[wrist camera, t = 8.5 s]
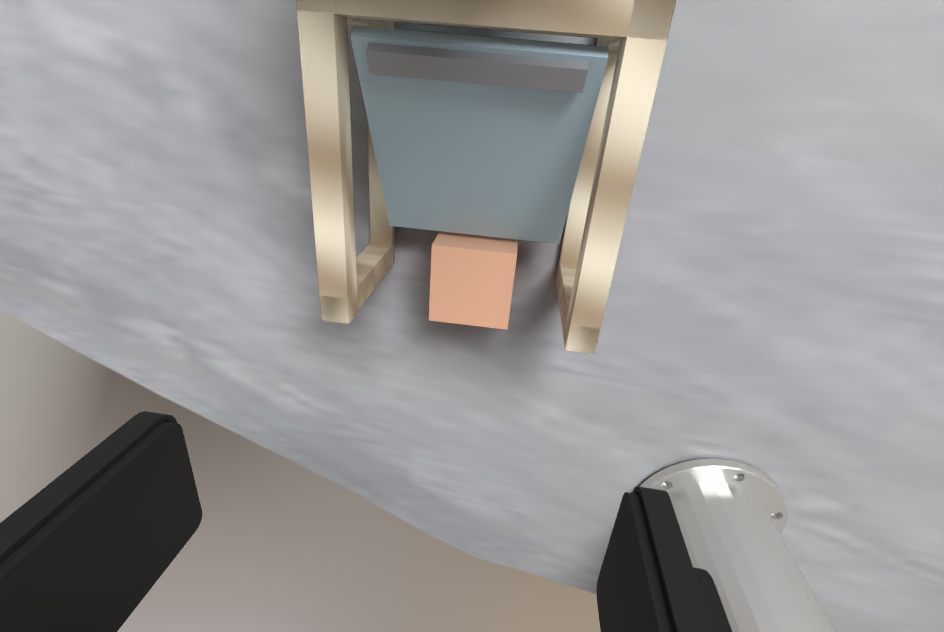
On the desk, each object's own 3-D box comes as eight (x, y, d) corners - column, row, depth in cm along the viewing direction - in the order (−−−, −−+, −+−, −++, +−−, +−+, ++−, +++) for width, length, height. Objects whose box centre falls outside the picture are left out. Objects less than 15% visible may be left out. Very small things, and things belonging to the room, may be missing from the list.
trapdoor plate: (559, 234, 29) (558, 251, 28) (392, 216, 30) (387, 233, 29) (607, 46, 19) (608, 66, 18) (355, 25, 20) (345, 44, 19)
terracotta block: (518, 229, 32) (509, 296, 34) (445, 221, 32) (441, 288, 34) (517, 254, 27) (507, 329, 29) (431, 244, 27) (428, 320, 30)
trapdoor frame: (577, 282, 33) (594, 353, 24) (373, 259, 33) (321, 320, 25) (628, 21, 26) (678, -8, 17) (368, 0, 26) (293, -36, 18)
